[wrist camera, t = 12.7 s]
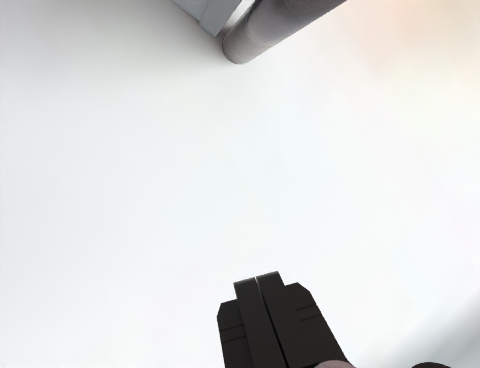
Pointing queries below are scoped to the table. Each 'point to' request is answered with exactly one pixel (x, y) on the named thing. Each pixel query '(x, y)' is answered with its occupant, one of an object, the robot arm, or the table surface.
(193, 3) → the gate
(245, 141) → the table surface
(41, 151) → the table surface
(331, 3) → the hinge post
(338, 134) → the table surface
